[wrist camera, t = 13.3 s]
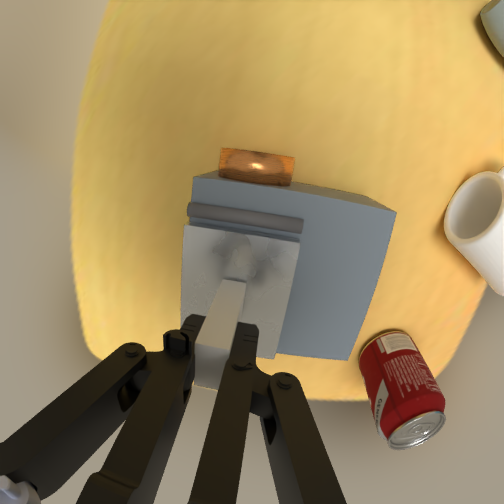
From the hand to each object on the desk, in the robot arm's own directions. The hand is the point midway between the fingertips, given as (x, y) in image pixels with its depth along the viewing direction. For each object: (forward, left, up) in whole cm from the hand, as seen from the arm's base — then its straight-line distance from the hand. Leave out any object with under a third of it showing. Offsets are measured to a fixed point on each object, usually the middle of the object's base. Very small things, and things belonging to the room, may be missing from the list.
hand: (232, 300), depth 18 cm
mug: (-9, +24, -8) cm, 27 cm away
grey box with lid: (-1, +3, -8) cm, 9 cm away
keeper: (0, 0, -1) cm, 1 cm away
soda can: (+9, +17, -8) cm, 21 cm away
